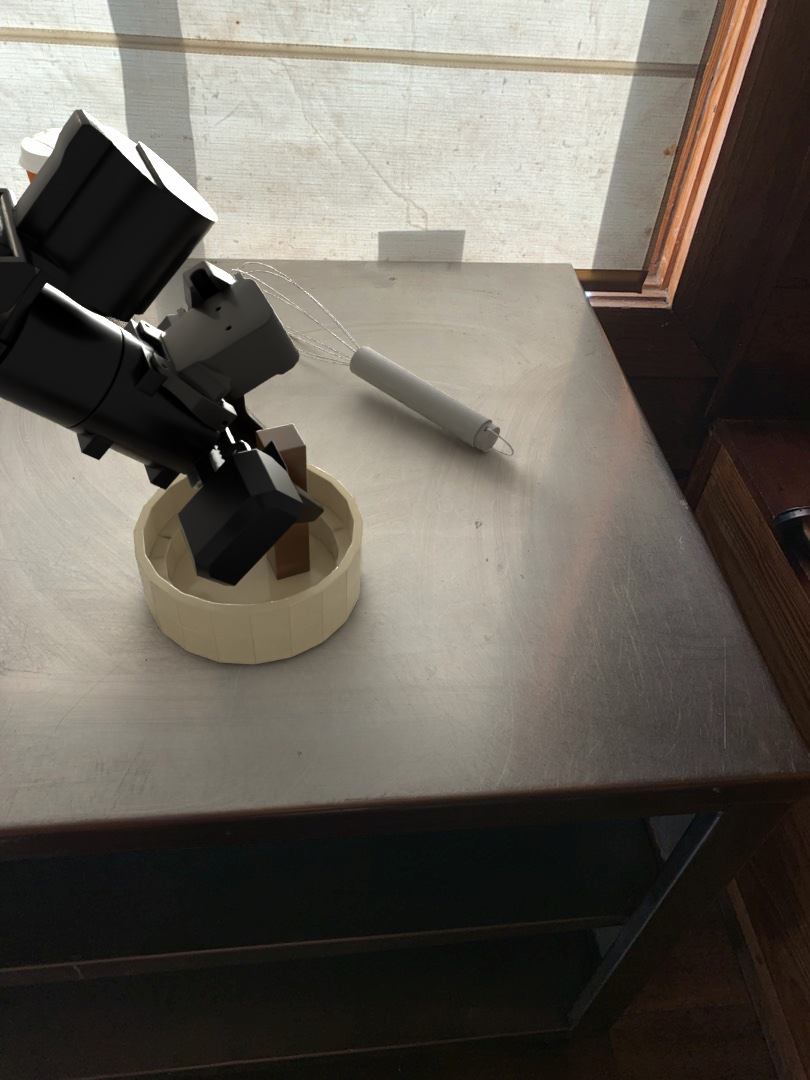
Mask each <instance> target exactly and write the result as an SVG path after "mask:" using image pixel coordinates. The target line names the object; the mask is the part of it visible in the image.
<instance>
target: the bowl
mask: <svg viewBox="0 0 810 1080" xmlns="http://www.w3.org/2000/svg"><path fill="white" fill-rule="evenodd" d="M202 486H203V485H202ZM202 486H201V487H202ZM201 487H200V488H201ZM200 488H199V489H198V490H195V489H193V488H191V486H190V484H189V481H188V479H187V476H186V475H184V474H181V473H180V474H179V476H178V477H177V478H176V479H175V480H174V481H173V482H172V484H171V485H170V486H169V487H168V488H167V489H166V490H164V489H162V488H160V487H158V489H157V490H156V491H155V492H154V494H153V495H152V496H151V497H150V498H149V500H147V502H146V503H145V504H144V505H143V506H142V508H141V511H140V513H139V516H138V518H137V521H136V524H135V526H134V529H133V546H134V557H135V560H136V566H137V568H138V572H139V576H140V580H141V585H142V588H143V592H144V596H145V600H146V604H147V607H148V610H149V612H150V614H151V616H152V617H153V619H154V620H155V621H154V622H155V623H156V624H157V626H158V627H159V630H160V631H161V633H163V634H164V635H165V636H166V637H168V638H169V639H171V640H172V641H173V642H174V643H176V644H177V645H178V646H179V647H181V648H182V649H183V650H184V651H187V652H188V653H191V654H194V655H197V656H200V657H202V658H205V659H208V660H211V661H214V662H217V663H221V664H223V663H225V664H240V665H258V664H259V665H260V664H264V663H270V662H276V661H279V660H284V659H291V658H293V657H296V656H298V655H300V654H302V653H304V652H306V651H308V650H311V649H312V648H314V647H316V646H318V645H320V644H323V643H324V642H325V641H326V640H328V638H330V637H331V636H332V635H333V634H334V633H335V632H337V630H338V629H339V628H340V627H342V626H343V625H344V624H345V623H346V622H347V621H348V619H349V617H350V616H351V613H352V611H353V609H354V608H355V606H356V604H357V602H358V600H359V598H360V594H361V593H360V592H361V583H362V582H361V581H362V568H363V567H362V565H363V540H364V539H363V538H364V537H363V536H364V519H363V516H362V513H361V511H360V509H359V505H358V503H357V501H356V498H355V497H354V496H353V495H352V493H351V492H349V491H350V490H348V489H347V488H346V487H345V486H344V484H342V482H341V481H340V480H339V479H338V478H337V477H335V476H333V475H331V474H330V473H328V472H327V471H324V470H322V469H321V468H320V467H317V466H316V465H314V464H311V463H308V462H307V490H308V494H309V495H310V496H311V497H312V498H314V499H315V500H316V501H317V502H318V503H319V504H320V505H322V507H323V509H324V512H323V513H322V514H321V515H320V516H319V517H318V518H317V519H316V520H315V521H314V522H309V551H310V571H308V572H305V573H301V574H298V575H294V576H291V577H287V578H284V579H280V580H277V579H276V577H275V574H274V572H273V570H272V568H271V566H270V563H269V561H268V559H267V555H266V554H265V555H264V556H263V557H262V558H261V559H260V560H259V561H258V562H257V563H256V565H255V566H254V567H253V568H252V569H251V570H250V571H249V572H248V573H247V574H246V575H245V576H244V577H243V578H242V579H241V580H240V581H239V582H238V583H237V585H236V586H224V585H221V584H219V583H216V582H213V581H210V580H208V579H205V578H202V577H199V576H197V574H196V572H195V569H194V566H193V563H192V560H191V558H190V555H189V552H188V549H187V547H186V544H185V541H184V538H183V535H182V533H181V528H180V523H179V518H178V513H179V512H180V511H181V510H182V509H183V508H184V506H185V505H186V504H187V503H188V502H189V501H190V500H191V499H192V497H193V496H194V495H195V494H196V493H197V492H198V491H199V490H200Z"/></svg>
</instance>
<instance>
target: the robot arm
mask: <svg viewBox="0 0 810 1080" xmlns="http://www.w3.org/2000/svg"><path fill="white" fill-rule="evenodd" d="M61 128H62V130H61V131H60V133H59V136H58V138H57V141H56V144H55V147H54V149H53V151H52V153H51V155H50V156H49V158H48V159H47V160H46V162H45V163H44V165H43V166H42V168H41V169H40V170H39V172H38V173H37V175H36V176H35V178H34V179H33V180H32V182H31V183H30V182H29V185H28V186H27V188H26V189H25V190H24V191H23V193H22V195H21V196H20V197H19V199H18V200H17V199H16V195H15V193H14V192H13V191H12V189H9V188H5V187H0V399H2V400H4V401H7V402H9V403H11V404H13V405H16V406H17V407H20V408H22V409H24V410H26V411H28V412H31V413H32V414H35V415H38V416H40V417H42V418H43V419H46V420H48V421H50V422H52V423H55V424H57V425H59V426H60V427H63V428H65V429H67V430H69V431H71V432H73V433H75V434H76V438H77V442H78V445H79V450H80V453H81V454H83V455H86V456H87V457H90V458H92V459H94V460H96V461H100V460H101V459H102V458H103V457H104V455H105V454H106V453H107V452H108V451H109V449H111V450H112V451H115V452H117V453H119V454H121V455H123V456H125V457H128V458H129V459H132V460H134V461H136V462H138V463H140V464H142V465H143V466H144V469H145V473H146V475H147V477H148V481H149V483H150V485H153V486H155V487H157V488H162V489H164V490H166V489H167V488H168V487H169V486H170V485H171V484H172V482H173V481H174V480H175V479H176V478H177V477H178V476H179V475H180V474H184V475H186V476H187V479H188V481H189V484H190V486H191V488H193V489H195V490H198V489H199V488H200V487H201V486H202V485H203V486H202V487H201V488H200V490H199V491H198V492H197V493H196V494H195V495H194V496H193V497H192V499H191V500H190V501H189V502H188V503H187V504H186V505H185V506H184V508H183V509H182V510H181V511H180V512H179V513H178V518H179V523H180V528H181V533H182V535H183V538H184V541H185V544H186V547H187V549H188V552H189V555H190V558H191V560H192V563H193V566H194V569H195V572H196V574H197V576H199V577H202V578H205V579H208V580H210V581H213V582H216V583H219V584H221V585H224V586H236V585H237V583H238V582H239V581H240V580H241V579H242V578H243V577H244V576H245V575H246V574H247V573H248V572H249V571H250V570H251V569H252V568H253V567H254V566H255V565H256V563H257V562H258V561H259V560H260V559H261V558H262V557H263V556H264V555H265V554H266V553H267V552H268V551H269V550H270V549H271V548H272V547H273V546H274V545H275V544H276V542H277V541H278V540H279V539H280V538H281V537H282V536H283V535H284V534H285V533H286V532H287V531H288V530H289V529H290V528H291V527H292V526H293V525H294V524H300V523H308V522H314V521H315V520H316V519H317V518H318V517H319V516H320V515H321V514H322V513H323V512H324V509H323V507H322V505H320V504H319V503H318V502H317V501H316V500H315V499H314V498H312V497H311V496H310V495H309V494H307V493H306V492H305V491H304V490H302V489H301V488H300V487H298V486H297V485H296V484H295V483H293V482H292V481H291V479H290V477H289V475H288V469H287V466H286V464H285V462H284V461H283V459H282V457H281V455H280V453H279V451H278V449H277V447H276V445H275V443H274V442H273V440H271V441H270V442H269V443H268V444H267V445H266V447H265V448H264V449H263V450H262V451H260V450H258V449H257V442H256V431H259V430H263V429H268V428H267V426H265V424H263V422H262V421H261V420H260V419H259V418H258V417H257V416H256V415H255V414H254V413H253V412H252V411H251V410H250V409H249V407H248V406H247V405H246V399H245V395H246V394H248V393H249V392H251V391H253V390H254V389H256V388H258V387H260V386H261V385H262V384H264V383H266V382H267V381H269V380H271V379H273V377H275V376H277V375H278V376H279V375H280V376H283V375H285V374H286V373H288V372H289V371H291V370H292V369H293V368H294V367H295V366H296V365H297V363H298V362H299V360H300V356H301V355H300V354H299V353H300V351H298V349H299V348H298V347H297V346H296V344H295V342H294V341H293V339H292V338H291V335H290V334H288V333H287V332H288V331H287V328H286V327H284V326H283V325H284V323H283V322H282V321H281V319H280V318H279V316H278V315H277V312H276V311H275V309H274V307H273V306H272V305H271V303H270V301H269V300H268V298H267V297H266V295H265V293H264V291H262V290H263V289H262V288H261V287H260V286H259V284H258V283H257V280H255V279H254V278H251V277H247V278H246V277H245V276H244V275H242V274H243V273H241V272H240V271H238V272H237V273H236V272H235V273H236V274H235V273H234V275H233V276H232V275H231V276H230V275H229V273H228V272H226V271H224V270H223V269H221V268H219V267H218V266H216V265H214V264H212V263H211V262H208V260H207V261H206V260H201V261H199V262H197V263H196V264H194V265H192V267H190V268H188V269H187V270H185V271H183V273H182V283H183V294H184V300H185V304H186V306H187V310H186V309H185V308H184V306H181V307H180V308H178V309H176V313H174V314H167V315H166V316H165V317H164V318H163V319H162V320H161V322H160V323H159V324H158V326H156V327H154V326H153V325H151V324H150V323H148V322H147V321H145V320H139V321H138V323H137V322H136V321H134V320H133V317H134V316H139V315H140V316H141V315H144V314H145V313H146V311H147V310H148V309H150V306H152V304H153V303H154V301H156V300H157V298H158V297H159V296H160V294H161V293H162V291H164V289H165V288H166V286H167V285H168V284H169V282H171V280H172V279H173V278H174V276H175V275H176V274H177V272H178V271H180V269H181V268H182V266H183V265H184V264H185V262H186V261H187V260H188V258H189V257H190V256H191V254H193V252H194V251H195V250H196V248H197V247H198V246H199V245H200V244H201V242H202V241H203V239H204V238H205V237H206V236H207V235H208V233H209V232H210V231H211V230H212V229H213V227H214V225H215V224H216V223H217V222H218V221H219V219H218V216H217V214H216V212H215V211H214V210H213V209H212V207H211V206H210V205H209V204H208V202H207V201H205V199H204V198H203V197H202V196H201V195H200V194H199V193H198V191H196V190H195V189H194V188H193V187H192V186H191V185H190V183H188V182H187V181H186V180H185V179H184V178H183V177H182V176H181V175H180V174H179V173H178V172H177V171H176V170H175V169H174V168H172V167H171V166H170V165H169V164H168V163H166V162H165V161H164V160H163V159H162V158H160V156H159V155H157V154H156V153H155V152H154V151H152V150H151V149H150V148H149V147H147V145H145V144H144V143H143V142H141V141H138V142H137V143H135V141H132V140H131V139H129V138H128V137H127V136H125V134H123V133H121V132H119V131H117V130H116V129H114V128H112V127H110V126H107V125H104V124H102V123H100V121H98V120H97V119H95V117H93V116H91V115H90V114H89V113H88V112H87V111H85V110H84V109H75V110H73V112H72V113H71V115H70V116H69V118H68V119H67V120H66V122H65V124H64V125H63V127H61ZM234 276H235V278H236V280H233V277H234ZM235 278H234V279H235ZM261 289H262V290H261ZM107 318H112V319H115V320H118V321H120V322H123V323H126V324H125V325H124V327H123V328H122V327H121V326H119V325H117V324H115V323H113V322H112V321H110V319H107Z"/></svg>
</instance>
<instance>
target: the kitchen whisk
mask: <svg viewBox="0 0 810 1080" xmlns="http://www.w3.org/2000/svg"><path fill="white" fill-rule="evenodd" d="M253 264H255V265H261V266H263V267H267V268H269V269H271V270H273V271H275V272H276V273H275V272H271V271H265V270H256V269H255V270H251V271H246V272H245V271H242V270H240V269H242V268H243V267H245V266H246V265H253ZM239 271H240V272H241V273H242V275H243V276H244V275H246V276H247V277H249V278H251V279H253V280H255V281H256V282H259V283H261V284H262V285H264V286H265V287H267V288H268V289H270V290H272V291H273V292H274V293H276V294H277V295H278V296H277V295H275V294H273V293H272V292H269V291H267V290H264V289H262V288H260V289H261V290H262V292H263V293H266V294H269V295H270V296H272V297H274V298H276V299H278V300H279V301H282V302H284V304H287V305H288V306H290V307H291V308H293V309H295V310H297V311H298V312H300V313H301V314H302V315H304V316H306V317H307V318H309V319H310V320H311V321H314V322H315V324H317V325H319V326H320V327H321V328H323V329H324V330H325V331H327V332H328V333H329V334H330V335H332V336H333V337H334V338H335V339H337V340H338V341H339V342H340V343H342V344H343V345H344V346H346V347H347V348H348V349H349V350H351V351H352V352H353V355H352V356H350V355H347V354H345V353H343V352H340V351H338V350H337V349H334V348H332V347H331V346H329V345H326V344H324V343H322V342H319V341H318V340H316V339H314V338H311V337H310V336H307V335H305V334H303V333H301V332H299V331H297V330H295V329H293V328H291V327H289V326H287V325H286V324H283V326H284V328H285V329H288V330H290V331H292V332H294V333H296V334H298V335H300V336H302V337H304V338H306V339H309V340H310V341H313V342H314V343H316V344H319V345H320V346H322V347H325V348H327V349H329V350H330V351H329V350H327V349H323V348H322V347H320V346H317V345H315V344H313V343H311V342H309V341H307V340H305V339H302V338H300V337H298V336H297V335H294V334H293V333H291V332H289V331H287V333H288V334H289V336H291V337H294V338H295V339H297V340H300V341H301V342H303V343H305V344H307V345H310V346H312V347H314V348H316V349H318V350H321V351H323V352H326V353H327V354H329V355H333V356H335V357H338V358H341V359H343V360H346V361H348V362H346V361H342V360H338V359H334V358H331V357H326V356H323V355H319V354H317V353H313V352H309V351H307V350H302V349H299V348H297V349H298V351H299V354H300V356H303V357H307V358H310V359H314V360H317V361H321V362H325V363H331V364H336V365H339V366H345V367H349V371H350V372H351V373H352V374H353V375H355V376H356V377H359V379H361V380H363V381H365V382H366V383H368V384H370V385H371V386H373V387H374V388H376V389H378V390H379V391H381V392H382V393H384V394H386V395H387V396H389V397H391V398H392V399H394V400H395V401H398V402H399V403H400V404H401V405H404V406H405V407H407V408H409V409H411V410H412V411H414V412H415V413H417V414H418V415H420V416H421V417H423V418H425V419H426V420H428V421H430V422H432V423H433V424H434V425H436V426H438V427H440V428H441V429H442V430H444V431H446V432H447V433H449V434H450V435H452V436H454V437H456V438H457V439H458V440H461V441H462V442H464V443H465V444H467V445H468V446H470V447H472V448H473V449H479V450H480V451H483V452H484V453H486V452H488V451H490V450H492V451H495V452H497V453H500V454H502V455H505V456H509V457H511V456H513V455H514V454H515V452H514V449H513V447H512V446H511V444H510V443H509V442H508V441H507V440H505V439H504V438H503V437H502V436H501V435H500V434H501V427H500V426H497V425H495V423H493V420H492V419H490V418H489V417H487V416H485V415H483V414H482V413H480V412H478V411H477V410H476V409H473V408H472V407H470V406H469V405H466V404H465V403H463V402H462V401H460V400H458V399H457V398H455V397H454V396H451V395H450V394H448V393H446V392H445V391H443V390H441V389H440V388H439V387H436V386H435V385H433V384H431V383H430V382H428V381H426V380H425V379H423V378H421V377H420V376H417V375H416V374H414V373H412V372H411V371H409V370H408V369H406V368H405V367H403V366H401V365H399V364H397V363H395V361H393V360H391V359H390V358H387V357H385V356H384V355H382V354H381V353H379V352H378V351H376V350H374V349H372V348H371V347H369V346H367V345H363V346H360V345H359V344H358V343H357V342H356V340H355V339H354V337H353V336H352V335H351V334H350V333H349V332H348V330H347V329H346V328H344V326H343V325H342V324H341V323H340V322H339V320H337V319H336V317H335V316H334V315H333V314H331V313H330V311H329V310H328V309H327V308H325V307H324V306H323V304H321V303H320V302H319V301H318V300H317V299H316V298H315V297H313V296H312V295H311V294H310V293H309V292H307V291H306V290H304V289H303V288H302V287H301V286H300V285H299V284H297V283H296V282H295V281H294V280H292V279H291V278H289V277H288V276H287V275H286V274H284V273H282V272H281V271H279V270H278V269H276V268H274V267H272V266H270V265H267V264H264V263H261V262H258V261H254V262H253V261H250V262H245V263H244V264H242V265H241V266H239V267H238V268H236V269H233V268H232V269H231V270H230V271H229V273H228V274H229V275H230V276H231V277H232V278H233V280H236V278H235V276H234V275H233V276H232V272H235V273H234V274H236V273H238V272H239ZM252 273H262V274H263V273H264V274H271V275H273V276H276V277H279V278H282V279H283V280H285V281H287V282H288V283H290V284H292V285H294V286H295V287H297V289H299V290H300V291H302V292H303V293H304V294H305V295H306V296H308V297H309V298H310V299H311V300H312V301H313V302H314V303H315V304H316V305H317V306H318V307H319V308H320V309H322V311H323V312H324V313H326V315H327V316H328V317H329V319H331V320H332V321H333V322H334V324H336V325H337V327H339V328H340V330H341V331H342V332H343V333H344V334H345V335H346V336H347V338H348V339H349V340H350V341H351V342H352V344H353V345H354V346H355V347H356V348H357V350H355V349H354V348H353V347H351V346H350V345H349V344H348V343H346V342H345V341H344V340H342V339H341V338H340V337H338V336H337V335H336V334H335V333H334V332H332V331H331V330H330V329H328V328H327V327H326V326H324V325H323V324H322V323H320V322H319V321H318V320H317V319H315V318H314V317H313V316H311V315H310V314H309V313H307V312H306V311H305V310H304V309H302V308H300V307H299V306H298V305H296V304H295V303H294V302H292V301H291V300H289V298H287V297H285V295H283V294H282V293H280V292H278V291H277V290H276V289H274V288H273V287H271V286H269V285H268V284H266V283H265V282H263V281H262V280H260V279H258V278H257V277H255V276H253V275H252ZM277 273H278V274H277ZM236 281H237V280H236ZM279 296H280V297H279ZM331 351H333V352H335V353H333V352H331ZM338 354H340V355H338ZM318 357H319V358H318ZM498 439H500V440H502V441H503V442H504V443H505V444H506V445H507V446H508V447H509V449H510V450H511V453H507V452H505V451H501V450H500V449H499V450H498V449H496V448H494V447H493V446H494V445H495V444H496V443H497V441H498Z"/></svg>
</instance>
